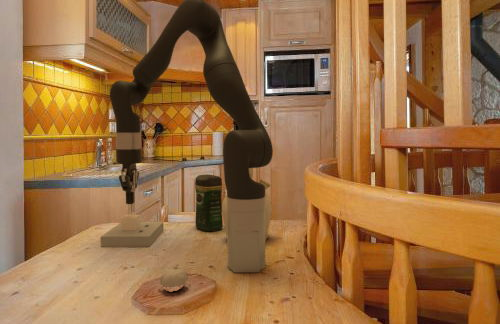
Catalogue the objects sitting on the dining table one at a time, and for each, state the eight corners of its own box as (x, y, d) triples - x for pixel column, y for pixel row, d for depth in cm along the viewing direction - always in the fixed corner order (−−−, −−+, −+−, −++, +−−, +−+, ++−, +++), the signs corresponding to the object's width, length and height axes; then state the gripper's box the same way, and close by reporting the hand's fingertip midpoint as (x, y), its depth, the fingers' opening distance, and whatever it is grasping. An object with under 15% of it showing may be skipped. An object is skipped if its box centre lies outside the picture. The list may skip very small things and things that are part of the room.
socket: (149, 246, 112) (149, 234, 112) (101, 246, 112) (100, 234, 112) (163, 230, 130) (163, 220, 130) (121, 231, 130) (121, 220, 130)
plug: (136, 238, 119) (135, 217, 118) (121, 238, 119) (121, 217, 118) (140, 234, 123) (139, 214, 123) (126, 234, 123) (125, 214, 123)
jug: (272, 232, 127) (272, 156, 125) (270, 246, 112) (270, 159, 110) (226, 231, 129) (225, 156, 127) (218, 245, 113) (217, 159, 111)
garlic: (176, 282, 85) (176, 259, 85) (193, 288, 82) (193, 264, 81) (154, 291, 81) (153, 266, 80) (171, 298, 77) (170, 272, 77)
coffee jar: (226, 229, 132) (226, 175, 130) (206, 233, 127) (205, 176, 125) (211, 224, 139) (211, 172, 138) (192, 227, 135) (191, 174, 133)
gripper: (134, 148, 112) (136, 207, 114) (146, 146, 126) (148, 200, 127) (108, 148, 112) (110, 207, 114) (123, 146, 126) (124, 200, 127)
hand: (130, 203), depth 120 cm, fingers closed
